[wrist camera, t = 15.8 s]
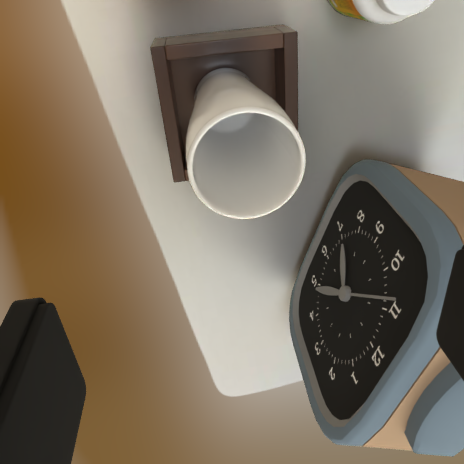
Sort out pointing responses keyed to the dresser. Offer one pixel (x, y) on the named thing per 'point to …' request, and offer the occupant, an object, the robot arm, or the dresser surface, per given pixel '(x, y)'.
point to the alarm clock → (382, 311)
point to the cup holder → (214, 57)
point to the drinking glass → (241, 147)
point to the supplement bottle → (380, 9)
